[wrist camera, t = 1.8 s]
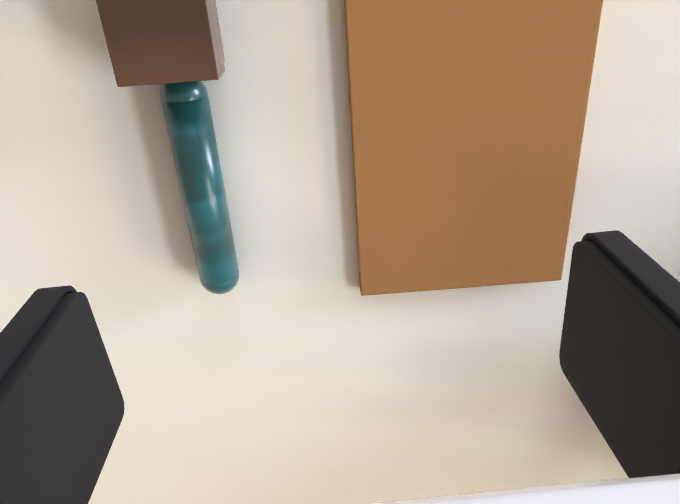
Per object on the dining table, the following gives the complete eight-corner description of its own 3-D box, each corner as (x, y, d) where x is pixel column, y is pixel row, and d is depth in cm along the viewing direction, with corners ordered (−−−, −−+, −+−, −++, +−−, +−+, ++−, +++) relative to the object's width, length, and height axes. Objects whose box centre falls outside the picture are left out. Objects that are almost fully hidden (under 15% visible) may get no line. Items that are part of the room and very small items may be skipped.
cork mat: (339, -100, 24) (339, -102, 23) (612, -120, 24) (621, -122, 23) (360, 288, 33) (361, 296, 33) (556, 273, 34) (561, 280, 33)
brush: (100, -97, 24) (69, -105, 21) (203, -104, 24) (187, -113, 21) (188, 283, 33) (175, 318, 30) (261, 278, 33) (257, 311, 30)
